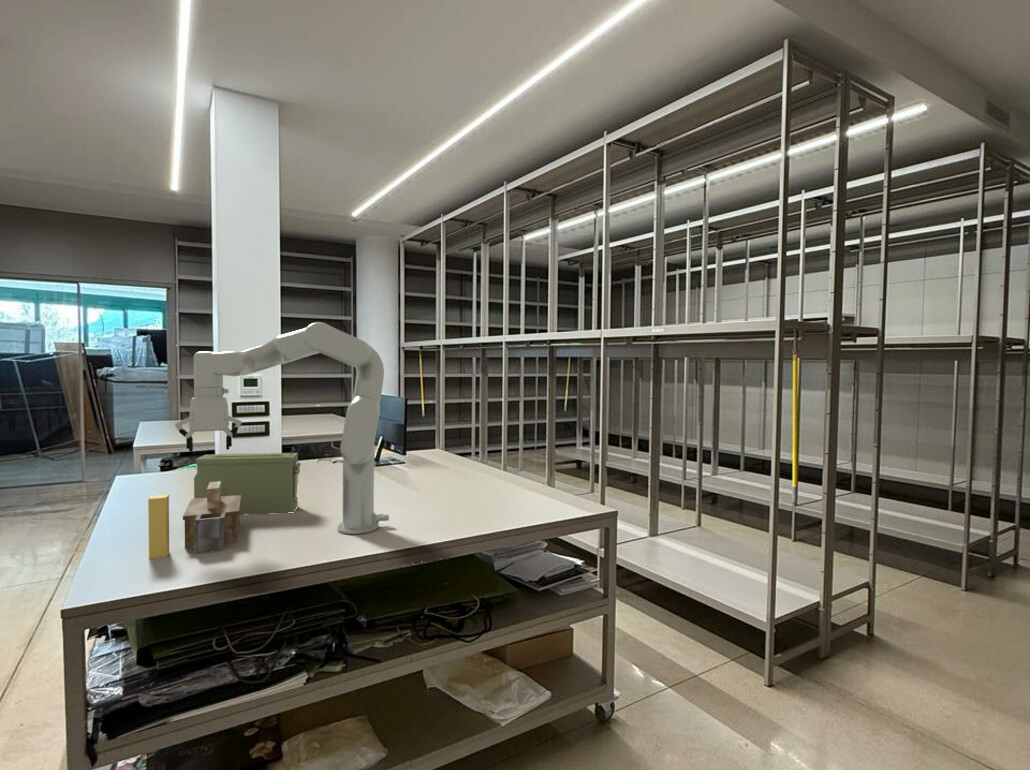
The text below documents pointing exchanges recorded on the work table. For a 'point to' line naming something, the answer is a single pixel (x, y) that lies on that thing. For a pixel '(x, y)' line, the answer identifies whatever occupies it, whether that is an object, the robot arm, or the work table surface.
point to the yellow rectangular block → (158, 526)
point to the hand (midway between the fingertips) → (209, 450)
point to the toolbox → (211, 534)
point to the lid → (212, 506)
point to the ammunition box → (252, 480)
